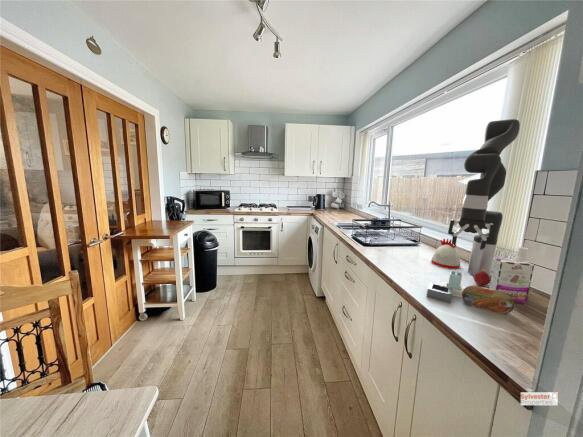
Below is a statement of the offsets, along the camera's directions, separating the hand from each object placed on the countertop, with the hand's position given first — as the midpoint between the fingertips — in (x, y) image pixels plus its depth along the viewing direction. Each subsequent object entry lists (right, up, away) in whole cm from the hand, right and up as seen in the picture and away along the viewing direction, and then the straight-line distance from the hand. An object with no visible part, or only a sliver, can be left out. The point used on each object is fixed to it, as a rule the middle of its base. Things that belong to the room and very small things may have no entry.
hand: (467, 247), depth 94 cm
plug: (-2, -20, +6) cm, 21 cm away
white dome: (+18, -15, +42) cm, 48 cm away
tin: (+2, -23, -6) cm, 24 cm away
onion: (+16, -20, +14) cm, 29 cm away
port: (-10, -21, +2) cm, 23 cm away
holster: (-2, -20, +6) cm, 21 cm away
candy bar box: (+18, -22, +3) cm, 29 cm away
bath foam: (+28, -21, +10) cm, 37 cm away
